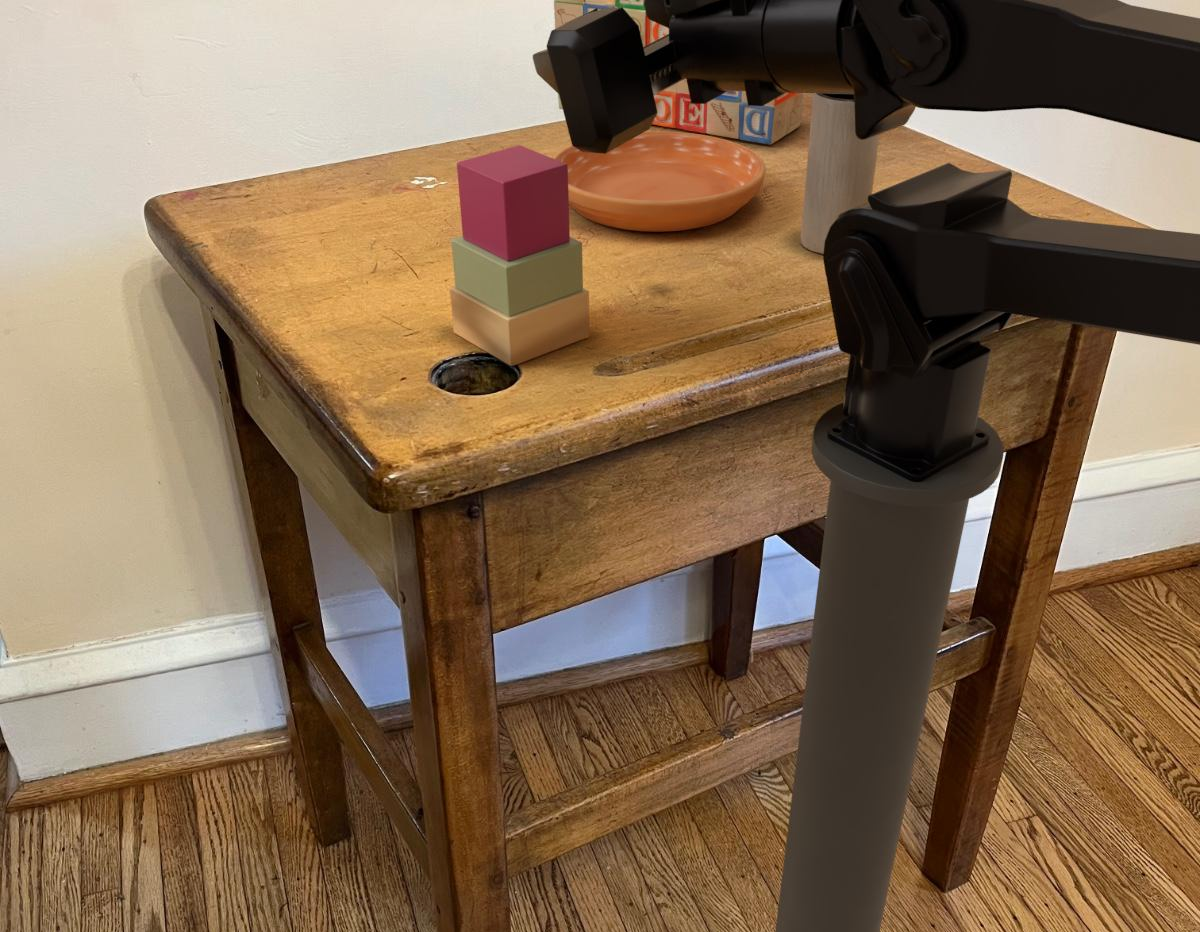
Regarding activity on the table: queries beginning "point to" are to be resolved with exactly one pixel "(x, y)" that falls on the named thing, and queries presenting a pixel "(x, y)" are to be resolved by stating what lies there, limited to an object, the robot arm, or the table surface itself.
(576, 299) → the beech base block
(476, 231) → the mulberry block
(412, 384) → the table surface
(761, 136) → the stack of blocks
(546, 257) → the sage middle block
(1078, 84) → the robot arm
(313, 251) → the table surface
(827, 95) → the grey hollow cylinder
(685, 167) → the saucer
